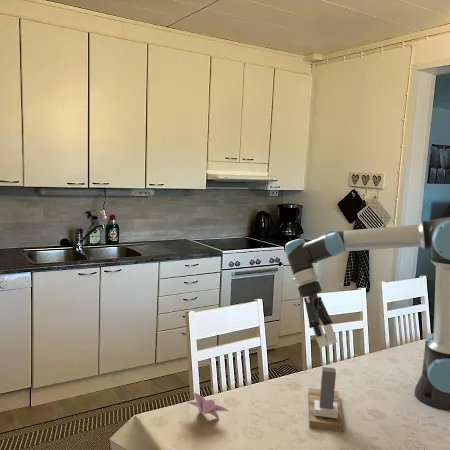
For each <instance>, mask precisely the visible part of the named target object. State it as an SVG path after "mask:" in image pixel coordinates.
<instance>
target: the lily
mask: <svg viewBox="0 0 450 450" xmlns="http://www.w3.org/2000/svg"><path fill="white" fill-rule="evenodd" d="M192 394H193V396H194V398H195V401H187V403H188V404H190V405H192V406H194V407H197V408H198V413H200V414H202V417H201V421H200V427H199V428H200V429H202V426H203V425H202V424H203V419H204V416H205V415H206V414H210V415H212V416H213V417H215V418H216V419H218V420H219V419H220V417H219V413H218V412H229V410H228V409H227V408H225V407H224V406H221V405H219V404H215V400H214V399H208V400H206V399H205V398H204V397H203V396H202V395H201V394H199V393H197V392H192Z"/></svg>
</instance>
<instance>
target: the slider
mask: <svg viewBox="0 0 450 450" xmlns="http://www.w3.org/2000/svg"><path fill="white" fill-rule="evenodd" d="M321 368H322V369H321V379H320V388H319V389H320V401H318V400H314V415H315V416H322V417H330V418H337V419H338V408H337V403H334V391H336V390H335V388H336V377H337V371H336V368H335V367H325V366H321Z"/></svg>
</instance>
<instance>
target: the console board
mask: <svg viewBox="0 0 450 450" xmlns="http://www.w3.org/2000/svg"><path fill="white" fill-rule="evenodd" d="M320 389H321V388H315V387H313V388H312V387H308V391H307V393H308V396H307V397H308V399H307V400H308V402H307V403H308V427H309V428H313V429H314V428H315V429H320V430H328V431H335V432H343V431H344V420H343V415H342V409H341V403H340V402H341V401H340V397H339V391H337V390H334V403H337V408H338V419H337V418H330V417H322V416H315V415H314V400H318V401H320Z"/></svg>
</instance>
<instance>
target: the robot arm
mask: <svg viewBox="0 0 450 450" xmlns="http://www.w3.org/2000/svg"><path fill="white" fill-rule="evenodd" d="M415 247H417V248H418V247H421V248H422V249H423V250H427V249H428V250H429V249H431V254H430V255H431V257H430V263H432V264H433V265H434V266H435V284H434V285H435V286H434V287H435V288H434V312H433V313H434V314H433V315H434V316H433V333H428V334H427V335H426V338H425V340H424V343H425V345H424V351H423V353H424V354H423V359H422V361H423V362H422V371H421V372H422V373H421V375H420V377H419V379H418V381H417V383H416V384H415V387H414V396H415V398H416V399H417V400H418V401H419V402H421V403H423V404H425V405H427V406H430V407H432V408H436V409H441V410H450V216H447V217H442V218H441V217H440V218H436V219H430V220H421V221H420V222H419V223H417V224H408V225H398V226H397V225H396V226H385V227H384V226H383V227H374V228H372V227H371V228H363V229H351V230H341V231H339V230H337V231H336V230H329V231H326V232H324V233H323V234H322V235H321V236H320V237H318V238H316V239H313V240H310V241H307V242H306V241H305V239H304V238H297V239H294V240H291V241H288V242H287V243H286V244H285V246H284V250H285V253H286V259H287V260H288V263H289V266H290V268H291V271H292V275H293V278H292V279H293V281H295V284H296V286H297V290H298V293H299V296H300V297H301V298H302V299H303V300H304V303H305V308H306V309H305V310H306V313H307V319H308V324H309V325H308V326H309V328H310V329H313V332H314V336H315V339H316V341H317V345H318V348H320V349H321V348H325V347H328V346H329V345H333V344H336V343H338V340H337V337H336V334H335V332H334V329H333V326H332V324H333V323H334V322H333V320H332V319H331V317H330V314H329V312H328V310H327V308H326V306H325V304H324V302H323V300H322V299H323V298H322V297H321V296H319V295H318V294H319V293H321V292H323V291H322V287H321V284H320V282H319V281H318V275H317V272H316V269H315V266H314V264H315V263H318V262H320V261H323V260H326V259H330V258H332V257H336V256H338V255H340V254H342V253H344V252H352V251H353V252H355V251H356V252H357V251H368V250H369V251H370V250H384V249H385V250H386V249H388V250H389V249H398V248H401V249H403V248H415ZM320 321H321V323H322V324H320Z"/></svg>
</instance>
